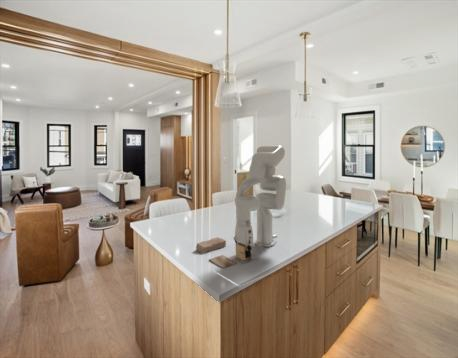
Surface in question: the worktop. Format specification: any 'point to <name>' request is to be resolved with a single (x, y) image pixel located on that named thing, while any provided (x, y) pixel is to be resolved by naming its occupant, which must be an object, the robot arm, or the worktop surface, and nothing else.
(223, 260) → the walnut board
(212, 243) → the brick
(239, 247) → the oak block
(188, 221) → the worktop surface
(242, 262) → the pad
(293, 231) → the worktop surface
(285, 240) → the worktop surface
